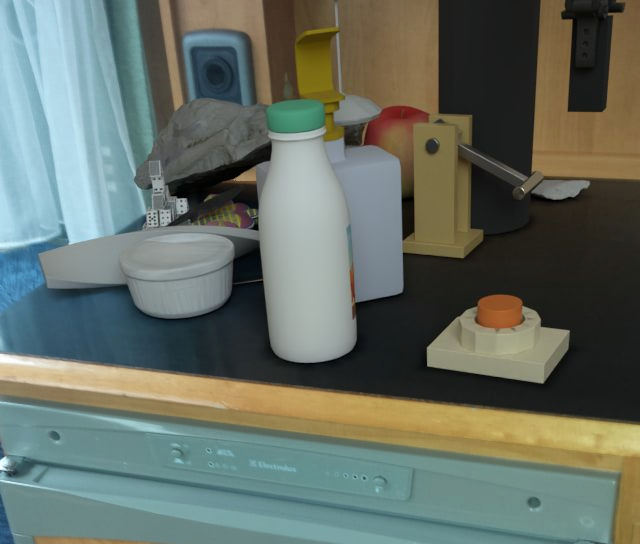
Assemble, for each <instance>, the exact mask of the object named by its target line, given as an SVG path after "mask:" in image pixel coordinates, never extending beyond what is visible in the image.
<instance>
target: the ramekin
mask: <svg viewBox="0 0 640 544" xmlns="http://www.w3.org/2000/svg"><path fill="white" fill-rule="evenodd" d="M234 257H235V247H234V244H233V243H232V242H231V241H230V240H229V239H227V238H225V237H222V236H218V235H214V234H206V233H178V234H170V235H162V236H158V237H153V238H149V239H146V240H142V241H140V242H137V243H135V244H133V245H130V246H129V247H127V248H126V249H124V250H123V251H122V252H121V254H120V256H119V266H120V269H121V271H122V272H123V273H124V275H125V278H126V281H127V284H128V285H127V287H128V290H129V292H130V295H131V298H132V301H133V303H134V305H135V307H136V308H138V309H139V310H140V311H141V312H142V313H143V314H145V315H148V316H151V317H154V318H158V319H171V320H172V319H186V318H194V317H198V316H203V315H206V314H208V313H212V312H213V311H216V310H218V309H220V308H221V307H222V306H224V305H225V304H226V303H227V301H228V300H229V298H230V296H231V294H232V290H233V285H232V282H233V275H234V260H235V259H234ZM233 259H234V260H233Z"/></svg>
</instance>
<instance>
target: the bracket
mask: <svg viewBox="0 0 640 544" xmlns="http://www.w3.org/2000/svg"><path fill="white" fill-rule="evenodd" d="M438 119H441V120H443V121H445V122H447V123H449V124H440V123H433V122H435V121H437V120H438ZM458 129H460V130H462V131H463V133H462V136H461V138H460V140H461V141H462V142H464V143H466V144H468V145H470V146H472V115H460V114H438V113H430V115H429V123H416V124H414V125H413V144H414V196H413V201H414V202H413V203H414V204H413V205H414V211H413V212H414V232H412V233H411V234H410V235H409V236H407V237H406V238H405V239H404V240H402V248H403V253H405V254H412V255H413V254H414V255H416V254H417V255H423V256H425V255H426V256H433V257H434V256H436V257H443V258H453V259H454V258H455V259H464V258H466V257H467V255H469V254H470V253H471V252H472V251H473V250H474V249H475V248H476V247H477V246H479V245H480V244H481V243H482V242H483V241H484V235H483V230H480V229H470V216H471V162H470V161H468V160H466V159H465V158H463V157H461V156H459V155H458Z"/></svg>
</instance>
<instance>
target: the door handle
mask: <svg viewBox="0 0 640 544" xmlns="http://www.w3.org/2000/svg"><path fill="white" fill-rule="evenodd" d="M189 225H190V224H189ZM178 233H206V234H214V235H218V236H222V237H225V238H227V239H229V240H230V241H231V242H232V243H233V244H234V247H235V257H234V259H233V261H234V260H235V259H239V258H240V257H242V256H245V255H247V254H249V253H251V252H253V251H255V250H257V249H260V239H259V230H255V229H253V230H250V229H242V228H233V227H223V226H203V225H190V226H170V227H159V228H152V229H145V230H142V229H140V230H135V231H130V232H124V233H119V234H112V235H107V236H101V237H97V238H92V239H87V240H83V241H79V242H75V243H71V244H66V245H63V246H59V247H56V248H53V249H49V250H46V251H43V252H39V253H37V257H38V263H39V267H40V270H41V273H42V276H43V278H44V281H45V284H46V287H47V289H51V290H53V289H55V290H56V289H57V290H58V289H59V290H61V289H63V290H65V289H67V290H68V289H70V290H71V289H72V290H73V289H94V288H108V287H109V288H110V287H118V286H120V287H121V286H126V285H127V286H128V284H127V281H126V278H125V275H124V273H123V272H122V271H121V269H120V266H119V256H120V254H121V252H122V251H123V250H124V249H126V248H127V247H129V246H130V245H133V244H135V243H137V242H140V241H142V240H146V239H149V238H153V237H158V236H162V235H170V234H178Z"/></svg>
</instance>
